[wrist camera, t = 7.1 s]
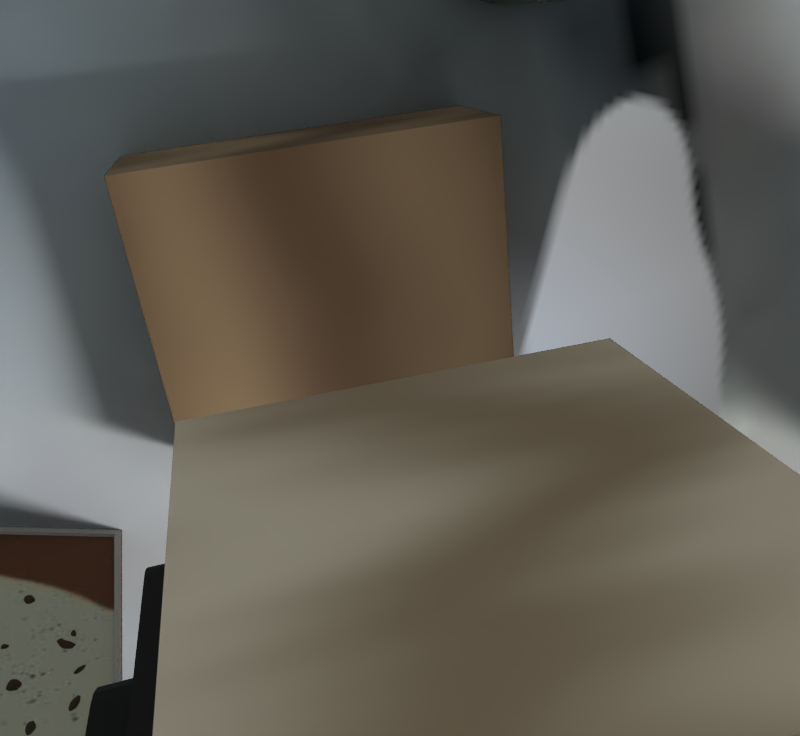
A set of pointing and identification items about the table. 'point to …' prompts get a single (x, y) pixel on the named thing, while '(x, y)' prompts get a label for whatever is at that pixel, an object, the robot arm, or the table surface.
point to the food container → (57, 626)
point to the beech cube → (481, 561)
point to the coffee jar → (517, 1)
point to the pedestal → (319, 256)
